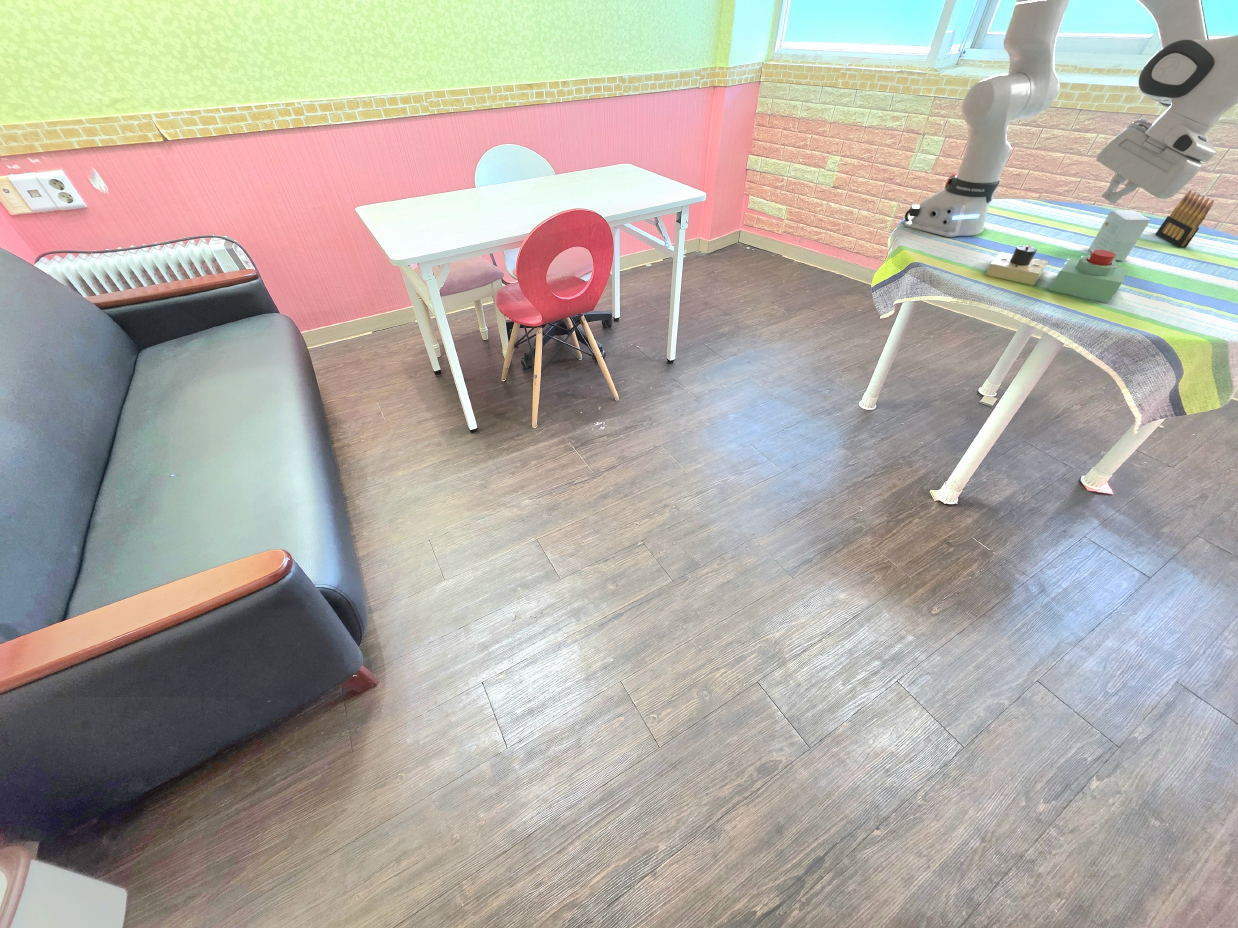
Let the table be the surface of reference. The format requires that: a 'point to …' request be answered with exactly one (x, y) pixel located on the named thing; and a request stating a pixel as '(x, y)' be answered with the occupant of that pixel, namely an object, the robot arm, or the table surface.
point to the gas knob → (1023, 255)
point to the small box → (1120, 233)
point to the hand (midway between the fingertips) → (1107, 200)
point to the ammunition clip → (1184, 220)
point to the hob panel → (1016, 269)
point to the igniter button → (1101, 257)
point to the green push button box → (1089, 279)
